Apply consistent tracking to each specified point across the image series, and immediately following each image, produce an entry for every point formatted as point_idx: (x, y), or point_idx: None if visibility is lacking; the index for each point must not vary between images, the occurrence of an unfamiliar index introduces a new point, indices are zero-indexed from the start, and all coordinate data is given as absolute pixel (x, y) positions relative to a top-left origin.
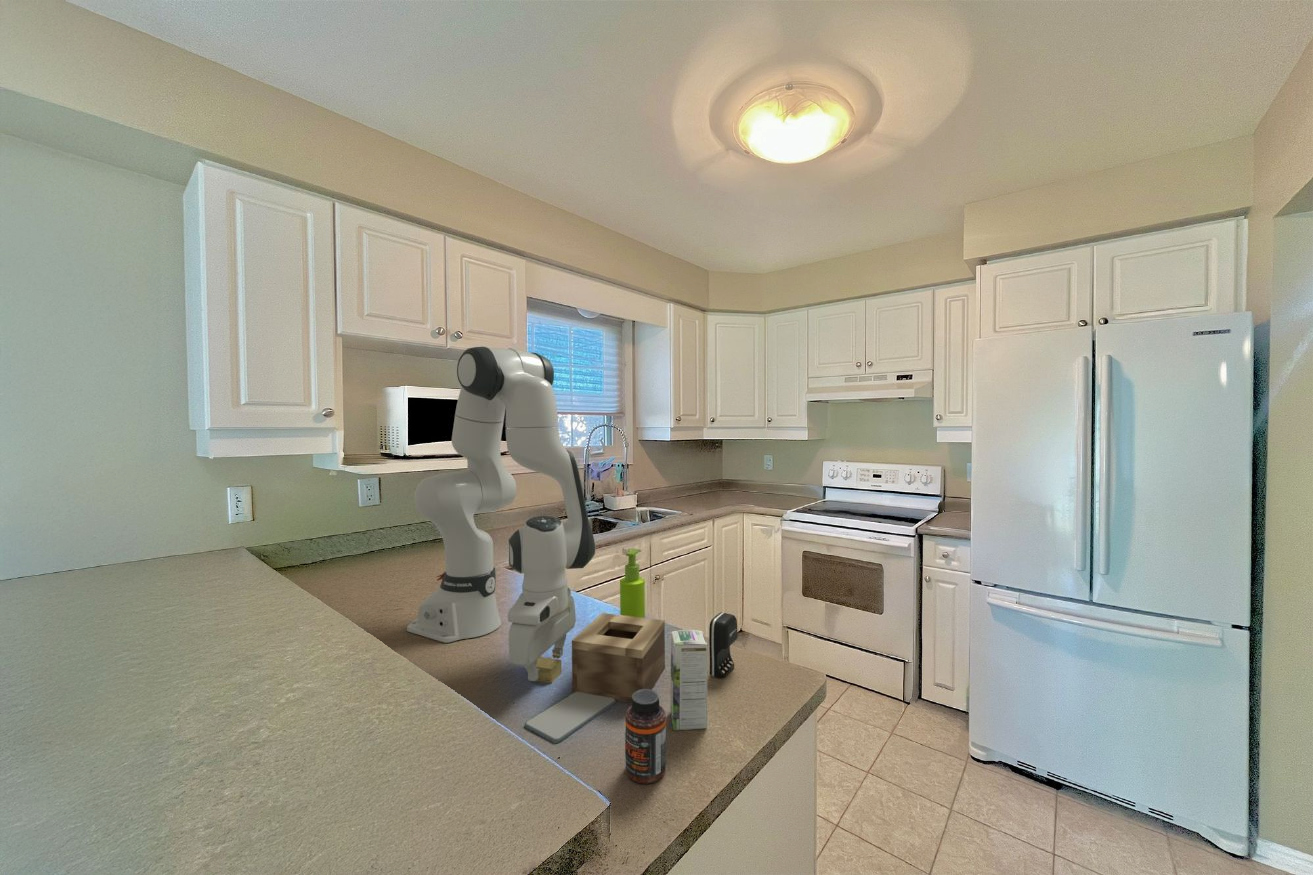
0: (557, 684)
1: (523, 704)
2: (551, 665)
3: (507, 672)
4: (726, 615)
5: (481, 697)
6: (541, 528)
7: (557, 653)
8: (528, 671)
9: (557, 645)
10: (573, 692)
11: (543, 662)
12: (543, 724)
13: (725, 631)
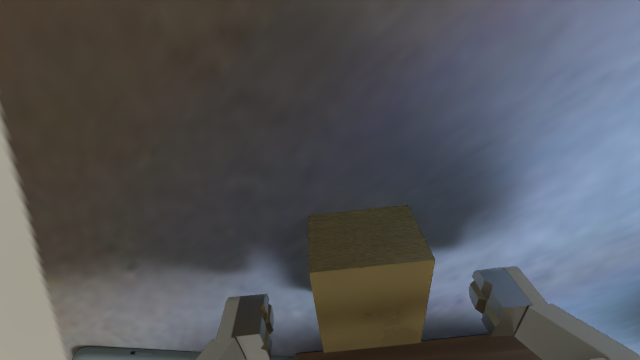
0: None
1: (151, 294)
2: (354, 340)
3: (322, 59)
4: None
5: (23, 120)
6: None
7: (484, 309)
8: (214, 343)
9: (539, 329)
10: (297, 357)
11: (371, 305)
12: None
13: None
